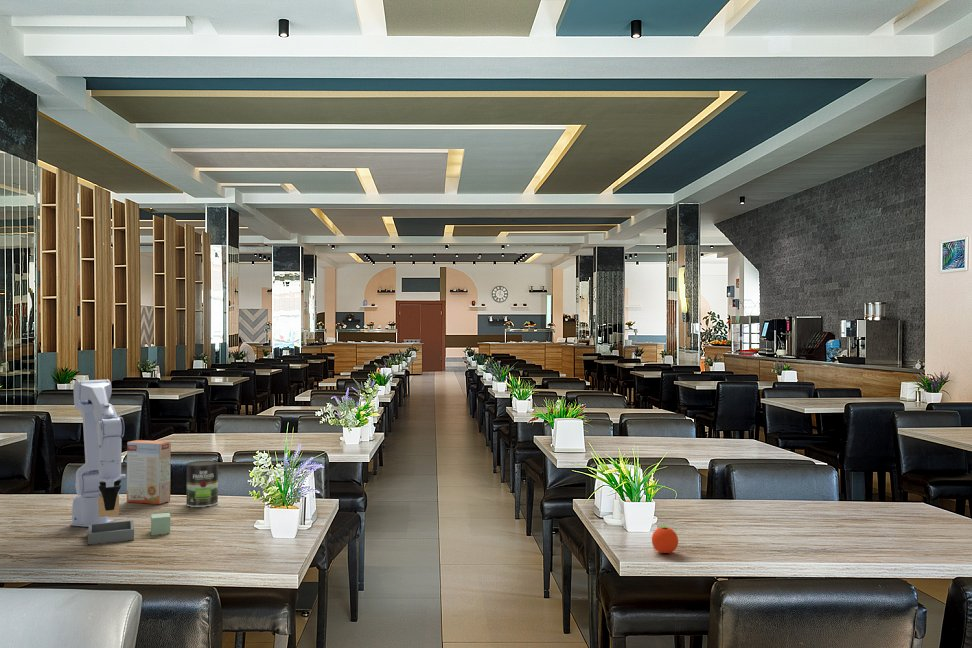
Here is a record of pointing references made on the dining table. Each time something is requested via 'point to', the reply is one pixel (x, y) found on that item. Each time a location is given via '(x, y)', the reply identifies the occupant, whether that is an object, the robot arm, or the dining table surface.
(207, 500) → the coffee can
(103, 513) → the brown box
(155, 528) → the light box
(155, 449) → the cracker box
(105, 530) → the tote
